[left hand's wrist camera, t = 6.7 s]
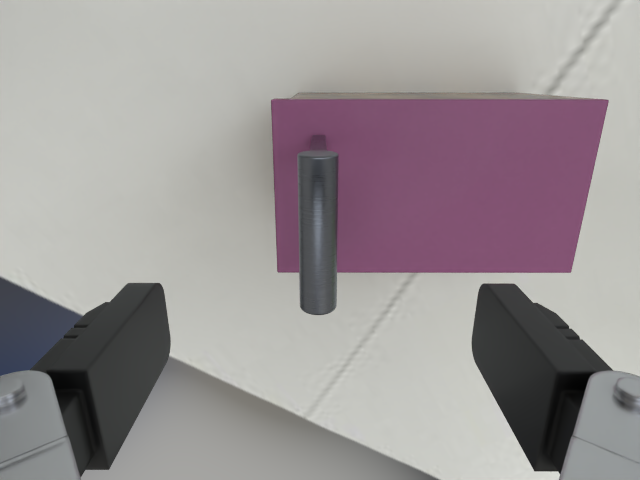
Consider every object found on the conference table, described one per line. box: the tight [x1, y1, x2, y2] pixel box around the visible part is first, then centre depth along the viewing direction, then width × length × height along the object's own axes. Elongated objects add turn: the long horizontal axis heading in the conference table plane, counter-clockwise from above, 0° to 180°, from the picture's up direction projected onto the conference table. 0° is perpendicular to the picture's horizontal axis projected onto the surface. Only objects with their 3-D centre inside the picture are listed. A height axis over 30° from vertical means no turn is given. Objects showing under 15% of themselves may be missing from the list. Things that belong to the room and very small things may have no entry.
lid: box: [271, 99, 608, 315], centre depth 20 cm, size 17×9×8 cm, turn 90°
